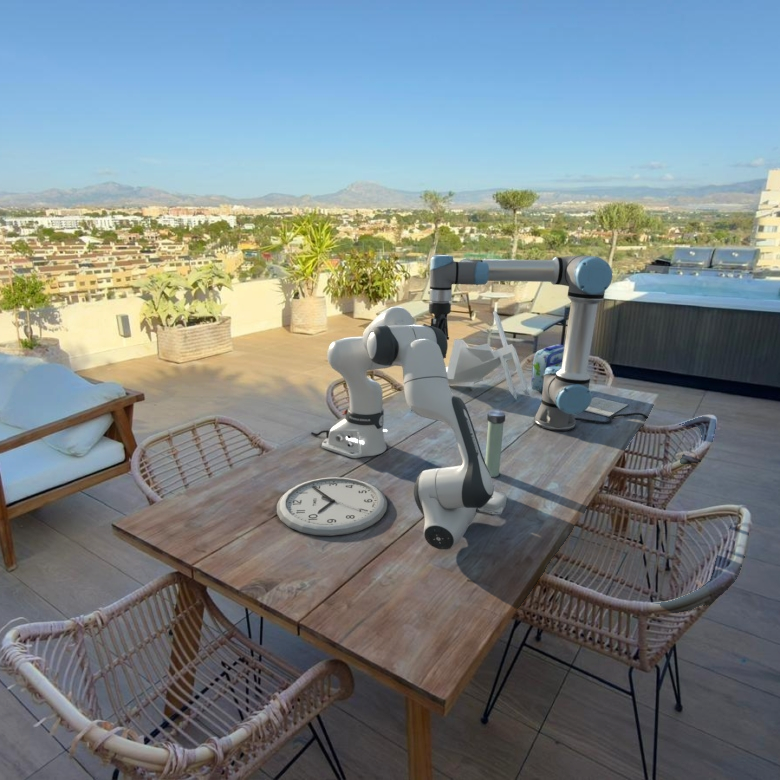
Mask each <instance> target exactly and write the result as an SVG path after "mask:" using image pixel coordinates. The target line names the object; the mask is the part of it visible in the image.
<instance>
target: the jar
mask: <svg viewBox="0 0 780 780" xmlns="http://www.w3.org/2000/svg"><path fill="white" fill-rule="evenodd" d="M504 423H505V422H503V423H491V422H489V421H488V420H487V435H486V448H485V459H484V461H485V464H486V466H487V468H488V471H489V473H490V476H491V478H496V477H499V475H500V467H501V458H502V457H501V456H502V447H503V446H502V445H503V444H502V443H503V433H504Z"/></svg>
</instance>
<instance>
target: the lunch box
mask: <svg viewBox="0 0 780 780" xmlns="http://www.w3.org/2000/svg"><path fill="white" fill-rule="evenodd" d="M564 347H565V344H554V345H550V346H547V347H544V348H542V349H541V348H540V349H539V350H537V351H536V352H535V353H534V356H533V360H532V367H531V368H532V369H531V382H530V383H531V386H530V387H531V389H532V390H533V391H537V392H541V393H542V392H543V382H544V374H545V369H546V368H547V367H562V360H563V354H564Z"/></svg>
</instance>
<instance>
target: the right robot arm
mask: <svg viewBox="0 0 780 780" xmlns="http://www.w3.org/2000/svg"><path fill="white" fill-rule="evenodd" d="M612 280H613V270H612V267H611V266H610V264H609V263H608V262H607V261H606V260H605V259H603V258H601V257H599V256H594V255H592V256H591V255H585V254H580V255H572V256H571V255H570V256H555V257H553V259H470V258H463V259H461V260H459V261H456V260H454V256H453V255H451V254H449V255H447V254H434V255H432V257H430V267H429V291H428V292H427V294H428V295H429V299H428V300H429V302H428V313H429V314H432V315H434V316H433V317H431V319H430V326H433V327H436V328H438V329H440V330H442V331H443V333H444V334H445V336H446V338H447V341H449V340H450V336H449V327H448V315H449V314H451V312H452V303H451V301H452V295H453V294H452V292H453V290H452V289H453V285H467V286H470V285H471V286H481V285H482V286H483V285H487V283H488V282H527V283H528V282H530V283H531V282H533V283H534V282H535V283H536V282H537V283H538V282H540V283H541V282H542V283H551V284H552V285H554V286H555V285H557V286H565V287H568V289H567V297H568V299H569V300H570V306H569V307H570V308H569V313H568V321H567V328H566V335H565V342H564V346H565V347H564V354H563V360H562V367H547V368H546V369H545V374H544V382H543V392H542V391H541V393H542V394H541V402H540V405H539V407H538V410H537V411H536V413H535V417H534V424H535V425H536V426H537V427H539V428H542V429H544V430H549V431H556V432H567V431H572V430H574V429H575V428H576V421H579V422H580V421H581V422H588V423H594V424H601V425H605V424H610V423H612V421H613V418H618V417H631V416H641V417H644V418H645V419H649V416H648V415H646V414H645V413H643V412H630V413H618V414H613V415H611V416H609V417H608V418H609V419H608V420H603V421H602V420H596V419H589V418H582V417H576V416H575V415H578V414H581V413H583V412H585V411H584V410H586V409H587V408H588V407H589V405H590V403H591V399H592V398H593V397H592V392H591V390H590V389H589V388H590V383H591V375H590V374H589V373H588V367H589V361H590V354H591V348H592V342H593V335H594V331H595V324H596V316H597V312H598V305H599V303H601V302H602V301H604V298H605V293H606V290H607V289H608V288H609V287H610V286H611V283H612V282H613V281H612ZM444 359H447V355H446V356H445V358H444Z"/></svg>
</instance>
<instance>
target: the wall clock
mask: <svg viewBox="0 0 780 780" xmlns="http://www.w3.org/2000/svg"><path fill="white" fill-rule="evenodd" d="M387 509H388V500H387V498H386V496H385V494H384V493H383V492H382V491H381V490H380V489H379V488H377V487H376V486H374V485H372V484H371V483H369V482H365V481H362V480H359V479H355V478H349V477H338V476H337V477H335V476H333V477H332V476H331V477H322V478H317V479H312V480H307V481H305V482H302V483H299V484H297V485H295V486H293V487H292V488H290V489H288V490H287V491H286V492H285V493H284V494H283V495H281V496H280V498H279V499H278V502H277V503H276V515H277V517H278V518H279V520H280V521H281V522H282V523H283V524H285V525H286V526H287V527H288V528H290V529H293V530H295V531H297V532H299V533H303V534H308V535H312V536H327V537H328V536H329V537H331V536H332V537H333V536H342V535H350V534H352V533H356V532H361V531H363V530H366V529H368V528H369V527H372V526H373V525H375V524H376V523H378V522H379V521H380V520H381V519H382V518H383V517H384V516H385V514H386V512H387Z"/></svg>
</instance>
